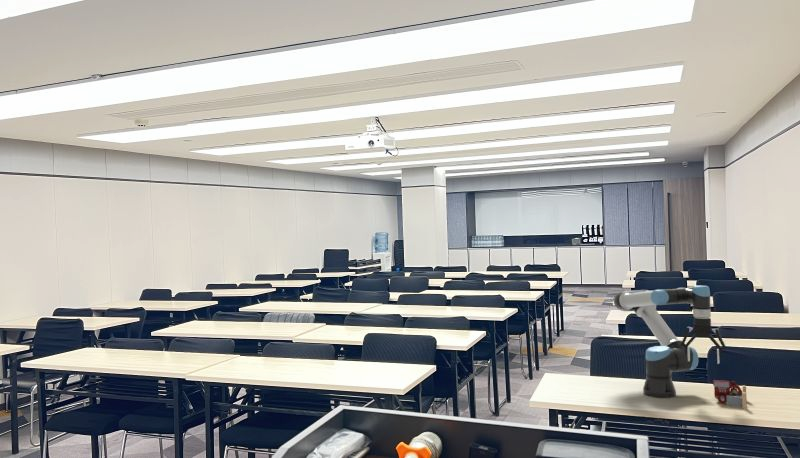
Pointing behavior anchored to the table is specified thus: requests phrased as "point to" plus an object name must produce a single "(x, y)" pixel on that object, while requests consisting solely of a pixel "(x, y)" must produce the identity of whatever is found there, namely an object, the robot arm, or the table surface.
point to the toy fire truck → (725, 390)
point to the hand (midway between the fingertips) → (703, 362)
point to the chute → (737, 399)
